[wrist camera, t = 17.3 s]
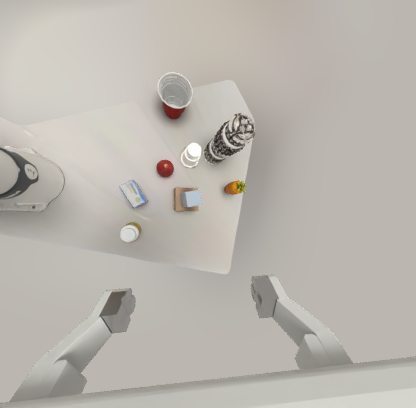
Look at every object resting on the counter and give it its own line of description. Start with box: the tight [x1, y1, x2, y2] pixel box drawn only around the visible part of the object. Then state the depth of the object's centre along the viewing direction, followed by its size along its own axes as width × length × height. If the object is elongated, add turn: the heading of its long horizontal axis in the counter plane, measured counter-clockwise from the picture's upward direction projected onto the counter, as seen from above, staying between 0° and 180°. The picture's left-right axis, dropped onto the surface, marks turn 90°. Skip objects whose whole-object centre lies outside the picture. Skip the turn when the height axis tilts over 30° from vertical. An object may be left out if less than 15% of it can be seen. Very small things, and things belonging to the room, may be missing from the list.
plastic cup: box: [157, 72, 193, 119], centre depth 52 cm, size 11×11×12 cm
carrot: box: [225, 181, 246, 194], centre depth 58 cm, size 5×5×15 cm
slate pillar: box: [180, 190, 202, 207], centre depth 50 cm, size 4×4×10 cm
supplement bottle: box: [120, 222, 141, 242], centre depth 50 cm, size 5×5×10 cm
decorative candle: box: [203, 113, 255, 165], centre depth 51 cm, size 9×9×25 cm
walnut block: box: [174, 188, 198, 211], centre depth 57 cm, size 8×8×6 cm
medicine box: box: [119, 180, 148, 208], centre depth 51 cm, size 8×4×9 cm, turn 31°
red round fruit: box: [157, 160, 174, 177], centre depth 54 cm, size 6×6×8 cm
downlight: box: [181, 143, 201, 168], centre depth 56 cm, size 8×7×10 cm
